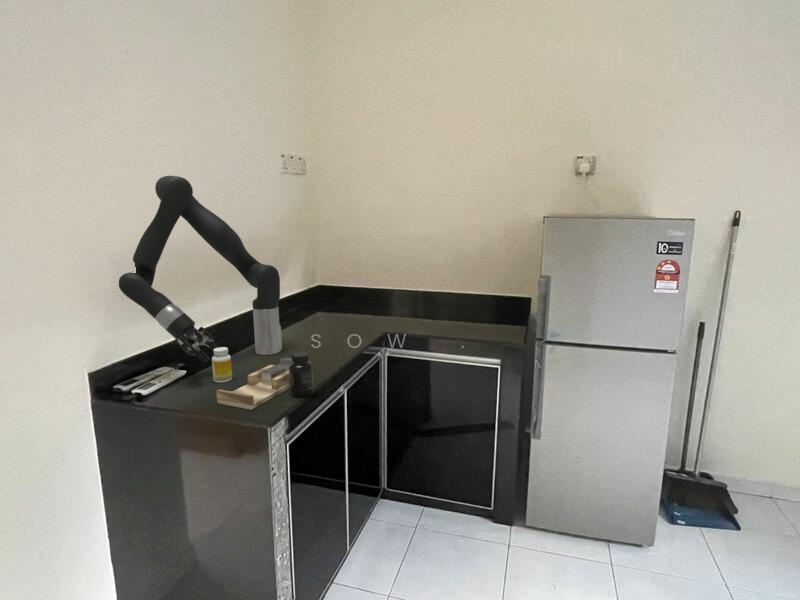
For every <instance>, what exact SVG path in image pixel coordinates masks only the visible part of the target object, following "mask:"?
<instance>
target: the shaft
mask: <svg viewBox="0 0 800 600" xmlns="http://www.w3.org/2000/svg"><path fill="white" fill-rule="evenodd" d="M291 363H293V362H292V357H282V358H280V359H279V364H277V365H276V364H275V366H274V367H272V368H270V369H268V370H266V371H264V372H262V373H261V379H262V384H264V385H270V386H272V382H271V379H273V378H275V377H277V376H279V375H281V374H283V373H285V372H287V371H289V366H290V364H291Z"/></svg>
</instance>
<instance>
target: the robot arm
mask: <svg viewBox="0 0 800 600" xmlns="http://www.w3.org/2000/svg"><path fill="white" fill-rule="evenodd" d="M154 189H155V194H156V196H157V197H158V199H159V200H160V203H159V205H158V208H157V212H156V213H155V216H154V218H153V219H152V221H151V222H150V224H149V225H148V226H147V228H146V229H145V230H144V233H142V235H141V238H140V239H139V241H138V244H137V247H136V249H135V252H134V254H133V257H132V261H133V263H134V265H135V267H136V273H132V272H133V271H132V272H126V273H123V274H121V276H120V277H119V279H118V282H119V284H118V289H120V291H121V293H122V294H124V296H126V297H127V298H129V299H130V300H131V301H133V302H134V303H136V304H137V305H138V306H140V307H141V308H143V309H144V310H145V312H147V314H149V316H151V317H152V318H153V319H154V320H156V322H157V323H158V324H159V325H160V326H161V327H162V328H163V329H164V330H165V331H166V332H167V333H168V334H169V335H170V336H172V337H173V339H175V340H176V342H175V344H176V345H177V346H178V347H179V348H181V350H182V351H183V352H185V354H187V355H188V357H191V356H196V358H198V359H199V360H200V361H201V362H202V363H203V364H206V363H207V362H208V361H209V360H210V357H209V356H208V355H207V353H205V352H204V351H203V350H201V348H200V346H206V347H208V349H209V350H211V351H212V352H213V353H214V349H215V348H219V347H220V346H218V344H216V343H215V340H216V338H215V336H214V335H212V333H210V332H209V331H208V330H207V329H205V328H204V327H203V326H200V327H199V328H196V327H195V325H196V323H195V321H194V319H192V318H191V317H190V316H189V315H188V314H187V313H185V311H183V309H181V308H180V307H179V306H178V305H177V304H174V302H172V301H171V300H170V299H169V298H168V297H167V296H166V295H165V294H164V293H162V292H160V291H158V290H156V289H154V288H153V283H154V279H155V275H156V272H157V271H156V270H157V265H158V263H159V261H160V260H161V256H162V254H163V251H164V250H165V247H166V245H167V242H168V240H169V238H170V235H171V234H172V232H173V230H174V228H175V226H176V224H177V222H178V220H179V219H180V217H181V218H183V219H184V220H185V221H186V222H187V223H188V224H189V226H191V227H192V229H193V230H194V231H195V232H196V233H197V235H198V236H200V237H201V238H202V239H203V240H204V241H205V242H206V243H207V245H208V246H210V247H211V248H212V249H213V250H215V251H216V252H217V254H219V255H220V256H221V257H223V259H225V260H226V261H227V262H228V263H230V264H231V265H232V266H233V267H234V268H235V269H236V270H237V271H238V273H240V275H241V276H242V277H243V278H244V279H245V280H246V282H247V283H248V284H249V285H250V286H251V287H253V288H255V289H256V292H257V293H256V298H255V299H253V300H252V303H251V304H252V315H253V331H254V347H255V354H257V355H262V356H266V355H267V356H268V355H271V356H272V355H275V354H278V353H280V352H281V351H282V350H283V341H282V339H283V337H282V326H281V324H280V314H279V301H280V298H281V280H280V278H281V277H280V273H279V270H278V268H276V267H275V266H273V265H271V264H263V263H261V262H260V261H258V260H257V259H256V258H254V257H253V256H252V255H251V254H250V253H249V252H248V250H247V249H246V247H245V245H244V243H243V241H242V239H241V237H240V236H239V235H238V233H237V232H236V231H235V230H234V228H232V227H231V226H230V225H229V224H228V223H227V222H226V221H225V220H223V219H222V218H220V217H219V216H218V215H216V214H215V213H214V212H212V211H211V210H210V209H209V208H207V207H205V206H204V205H203V204H201V203H200V202H199V200H197V199H196V198H195V196H194V195H193V193H194V191H193V186H192V184H191V183H190V181H189V180H187V179H186V178H184V177H183V176H179V175H178V176H177V175H165V176H162V177H160V178H158V180H157V181H156V183H155V188H154Z"/></svg>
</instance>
